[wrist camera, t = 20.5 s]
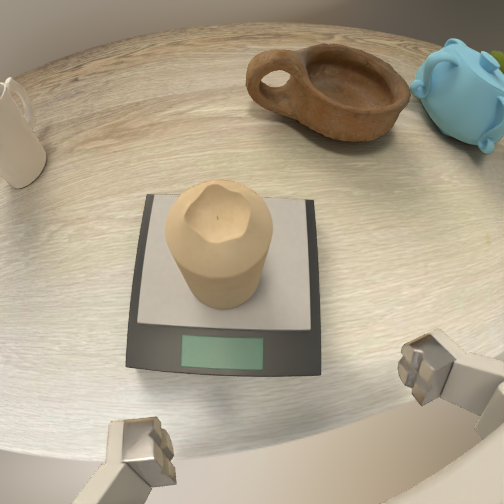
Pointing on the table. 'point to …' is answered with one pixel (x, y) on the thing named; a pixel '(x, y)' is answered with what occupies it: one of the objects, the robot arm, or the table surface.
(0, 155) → the mug
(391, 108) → the bowl
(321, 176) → the table surface
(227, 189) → the candle
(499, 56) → the apple
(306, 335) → the scale
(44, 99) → the table surface
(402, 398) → the table surface
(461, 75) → the decorative pot
